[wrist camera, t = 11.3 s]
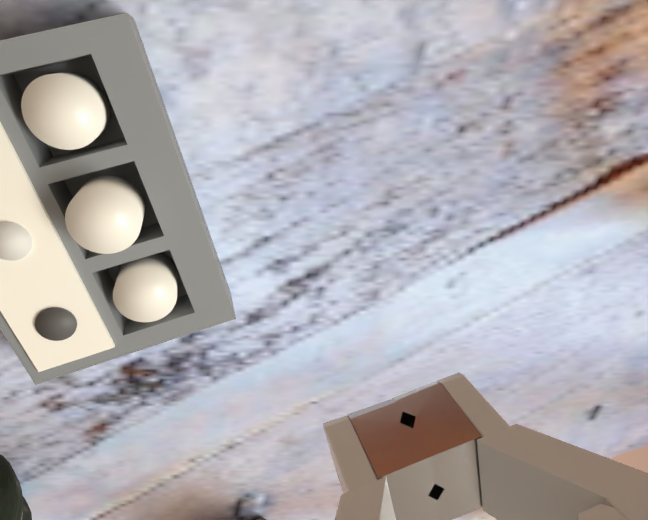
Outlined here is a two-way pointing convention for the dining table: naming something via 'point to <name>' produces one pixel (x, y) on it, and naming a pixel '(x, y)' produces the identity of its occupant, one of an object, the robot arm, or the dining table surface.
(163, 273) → the button
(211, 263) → the button board
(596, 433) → the dining table surface
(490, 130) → the dining table surface
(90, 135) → the button
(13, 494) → the squash
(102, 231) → the button
